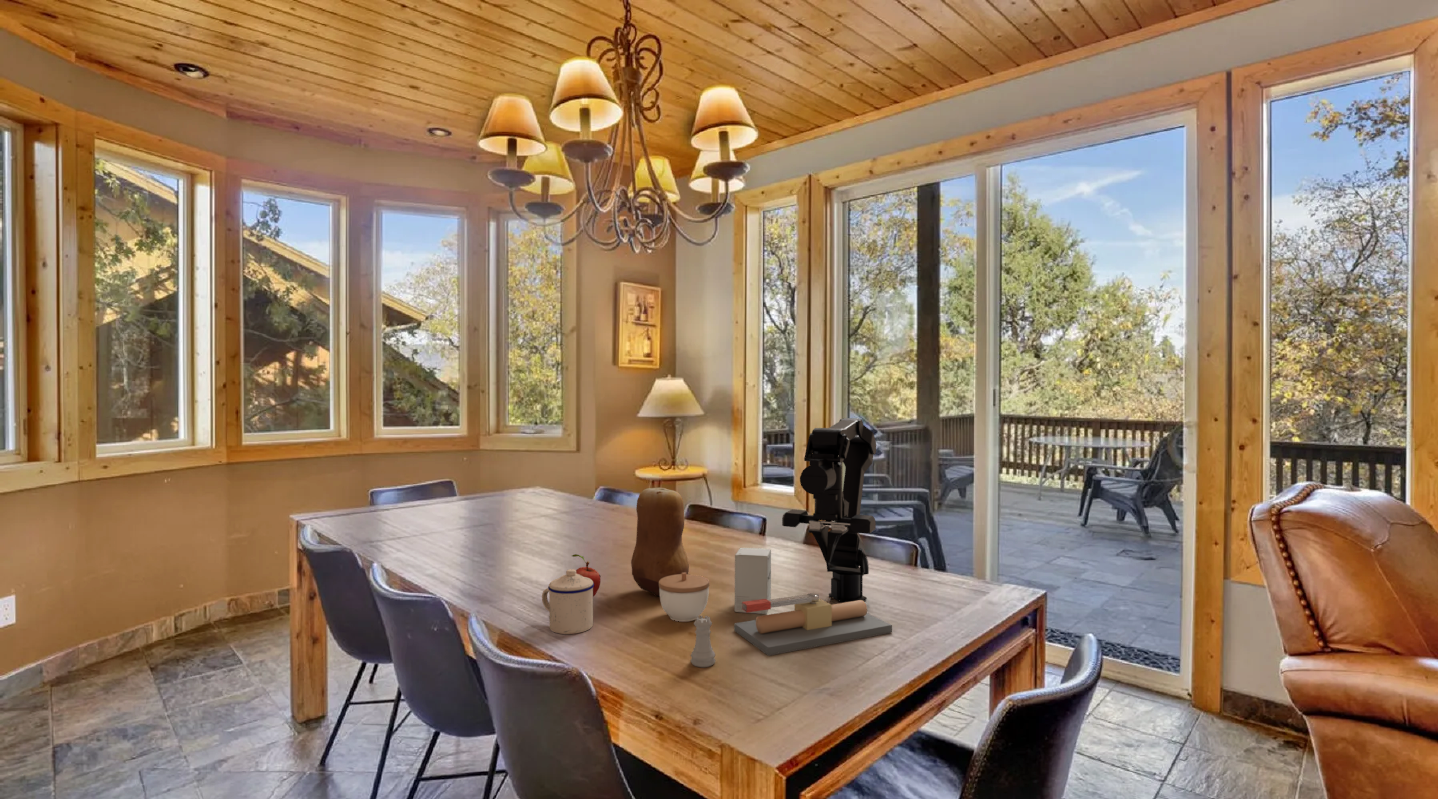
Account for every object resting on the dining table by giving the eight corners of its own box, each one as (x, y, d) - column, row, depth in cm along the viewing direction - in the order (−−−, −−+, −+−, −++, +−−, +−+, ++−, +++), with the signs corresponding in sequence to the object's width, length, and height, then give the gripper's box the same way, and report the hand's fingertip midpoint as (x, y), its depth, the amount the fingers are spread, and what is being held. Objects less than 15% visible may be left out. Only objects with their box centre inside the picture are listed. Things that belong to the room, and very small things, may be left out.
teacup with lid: (603, 623, 140) (603, 567, 139) (574, 638, 131) (574, 578, 131) (557, 615, 145) (557, 560, 145) (527, 628, 137) (527, 571, 137)
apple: (604, 593, 160) (604, 551, 160) (596, 602, 153) (596, 558, 153) (573, 593, 161) (573, 551, 161) (563, 602, 154) (563, 558, 154)
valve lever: (814, 598, 136) (815, 591, 136) (821, 602, 134) (821, 595, 134) (742, 608, 130) (742, 601, 130) (747, 612, 128) (747, 605, 128)
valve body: (850, 611, 147) (850, 583, 147) (892, 632, 134) (892, 601, 134) (734, 630, 135) (734, 599, 135) (768, 655, 123) (768, 621, 123)
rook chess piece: (689, 658, 121) (689, 614, 121) (714, 657, 122) (714, 613, 122) (690, 668, 117) (690, 622, 117) (716, 667, 117) (716, 621, 117)
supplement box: (767, 614, 145) (767, 556, 145) (733, 612, 147) (733, 554, 146) (771, 604, 152) (771, 548, 152) (739, 602, 154) (739, 546, 154)
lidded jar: (683, 629, 136) (683, 583, 136) (648, 617, 143) (648, 573, 143) (719, 616, 144) (719, 572, 144) (684, 605, 151) (684, 563, 151)
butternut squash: (695, 586, 166) (694, 484, 165) (680, 603, 152) (680, 493, 152) (640, 583, 168) (640, 483, 168) (622, 599, 155) (622, 491, 155)
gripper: (881, 485, 145) (881, 558, 145) (798, 480, 153) (798, 549, 153) (869, 492, 135) (869, 570, 135) (781, 487, 143) (781, 560, 143)
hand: (828, 562), depth 142 cm, fingers closed
